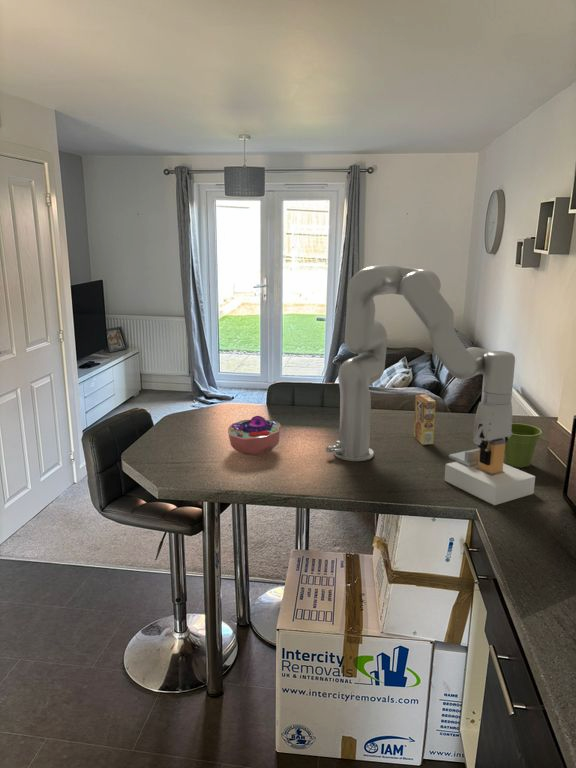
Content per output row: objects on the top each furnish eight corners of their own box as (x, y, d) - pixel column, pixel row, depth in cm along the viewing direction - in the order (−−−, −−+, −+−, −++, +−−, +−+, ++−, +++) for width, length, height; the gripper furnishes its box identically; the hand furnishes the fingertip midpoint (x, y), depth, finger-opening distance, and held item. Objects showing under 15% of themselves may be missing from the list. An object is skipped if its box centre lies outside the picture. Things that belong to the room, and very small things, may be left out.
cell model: (215, 458, 177) (214, 423, 174) (247, 439, 195) (246, 407, 192) (263, 467, 170) (263, 431, 167) (291, 446, 188) (291, 414, 185)
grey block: (469, 466, 157) (470, 453, 157) (448, 457, 164) (449, 444, 163) (486, 462, 161) (487, 449, 160) (465, 453, 167) (467, 441, 166)
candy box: (433, 444, 190) (436, 400, 186) (421, 445, 190) (424, 401, 186) (424, 436, 199) (426, 394, 195) (412, 436, 198) (415, 394, 194)
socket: (494, 505, 146) (496, 487, 144) (444, 480, 161) (445, 464, 160) (533, 493, 153) (535, 476, 151) (481, 470, 168) (483, 455, 167)
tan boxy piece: (492, 473, 152) (495, 442, 150) (478, 467, 157) (480, 436, 155) (502, 470, 154) (505, 439, 152) (488, 464, 158) (491, 434, 156)
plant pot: (491, 456, 180) (494, 422, 177) (529, 457, 179) (532, 423, 177) (504, 470, 168) (507, 435, 165) (544, 471, 168) (548, 435, 165)
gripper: (506, 390, 158) (501, 452, 162) (463, 398, 150) (458, 463, 154) (529, 396, 151) (522, 461, 156) (485, 405, 144) (479, 472, 148)
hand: (490, 461), depth 155 cm, fingers closed on tan boxy piece, 4 cm apart
